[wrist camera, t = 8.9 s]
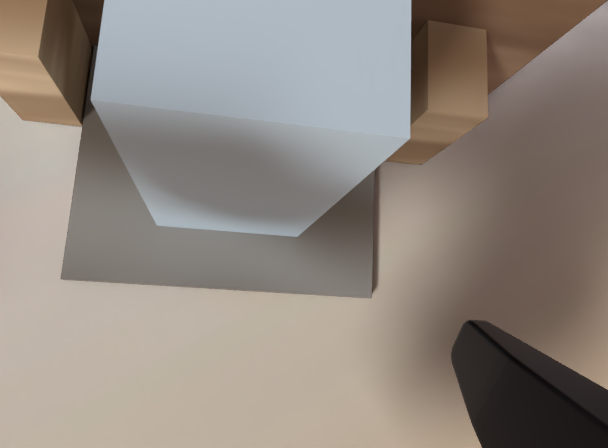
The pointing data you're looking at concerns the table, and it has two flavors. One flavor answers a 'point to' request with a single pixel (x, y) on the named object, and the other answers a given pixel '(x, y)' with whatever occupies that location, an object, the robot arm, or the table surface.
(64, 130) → the table surface
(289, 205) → the pale blue beveled prism
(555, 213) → the table surface
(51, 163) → the table surface
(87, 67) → the brown angular stand
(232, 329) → the table surface
